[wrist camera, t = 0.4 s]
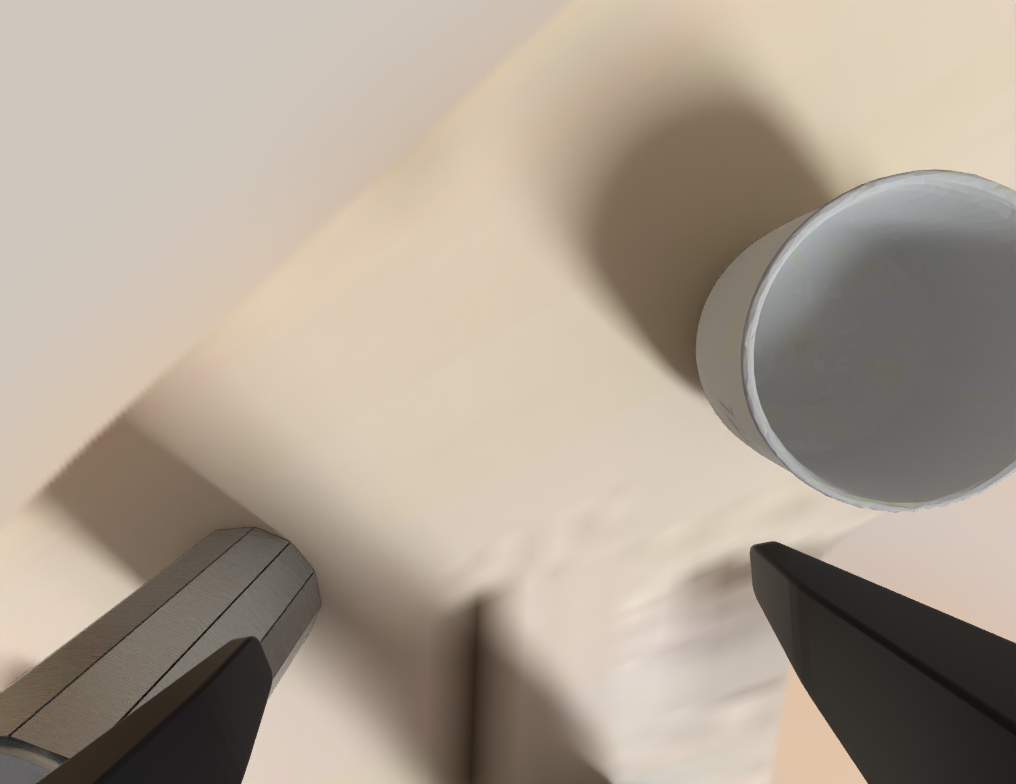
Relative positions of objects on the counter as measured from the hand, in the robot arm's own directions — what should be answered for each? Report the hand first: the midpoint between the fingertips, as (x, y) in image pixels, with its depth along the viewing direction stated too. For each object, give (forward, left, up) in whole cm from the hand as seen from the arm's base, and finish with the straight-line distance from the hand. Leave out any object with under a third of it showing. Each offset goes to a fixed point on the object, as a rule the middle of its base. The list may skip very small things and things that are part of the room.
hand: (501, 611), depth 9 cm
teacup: (+2, -15, -16) cm, 22 cm away
